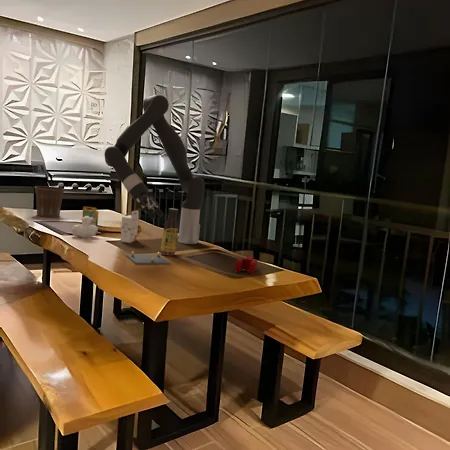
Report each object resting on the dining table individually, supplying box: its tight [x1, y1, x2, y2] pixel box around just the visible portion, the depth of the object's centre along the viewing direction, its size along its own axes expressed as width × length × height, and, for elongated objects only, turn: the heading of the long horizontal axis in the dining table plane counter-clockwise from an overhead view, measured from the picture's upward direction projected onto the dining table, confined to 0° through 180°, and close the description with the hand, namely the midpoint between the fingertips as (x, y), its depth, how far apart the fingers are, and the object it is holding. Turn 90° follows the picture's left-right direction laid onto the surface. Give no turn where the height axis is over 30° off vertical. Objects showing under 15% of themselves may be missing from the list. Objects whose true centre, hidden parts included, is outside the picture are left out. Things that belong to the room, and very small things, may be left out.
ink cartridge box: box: [120, 209, 139, 244], centre depth 218 cm, size 9×5×15 cm, turn 168°
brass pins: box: [130, 250, 161, 263], centre depth 183 cm, size 12×10×2 cm
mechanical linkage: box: [234, 255, 258, 275], centre depth 186 cm, size 16×7×5 cm, turn 168°
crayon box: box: [81, 206, 99, 228], centre depth 237 cm, size 7×3×12 cm, turn 84°
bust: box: [71, 216, 99, 239], centre depth 214 cm, size 12×8×11 cm
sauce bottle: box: [160, 207, 179, 257], centre depth 197 cm, size 7×6×20 cm
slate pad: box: [125, 253, 171, 265], centre depth 184 cm, size 14×14×1 cm
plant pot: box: [34, 185, 66, 218], centre depth 265 cm, size 16×16×16 cm
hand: (157, 217), depth 198 cm, fingers open, 8 cm apart
